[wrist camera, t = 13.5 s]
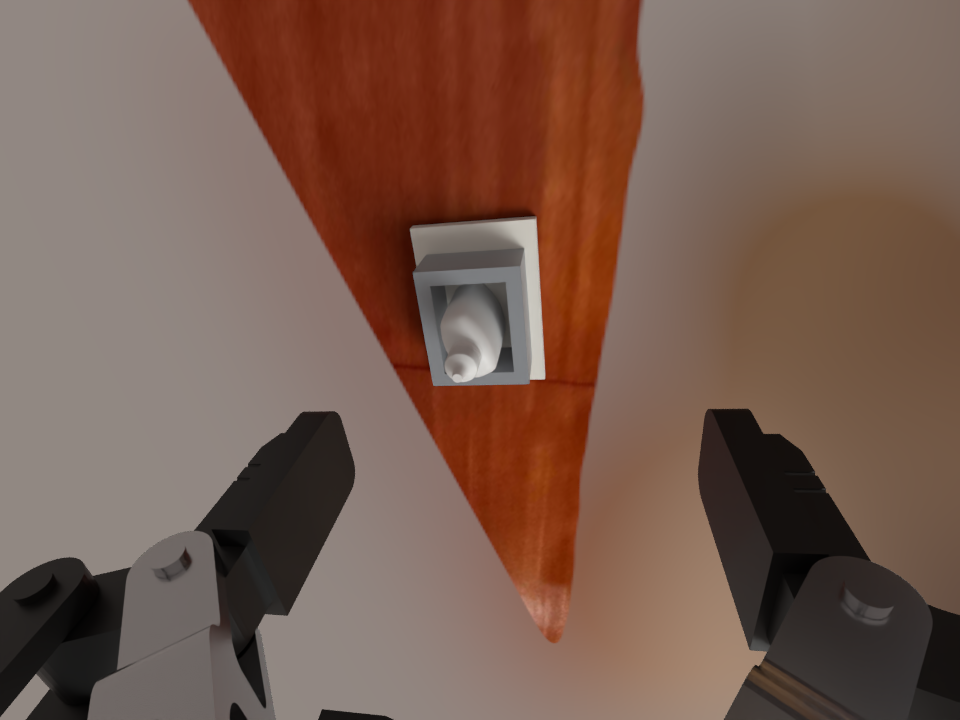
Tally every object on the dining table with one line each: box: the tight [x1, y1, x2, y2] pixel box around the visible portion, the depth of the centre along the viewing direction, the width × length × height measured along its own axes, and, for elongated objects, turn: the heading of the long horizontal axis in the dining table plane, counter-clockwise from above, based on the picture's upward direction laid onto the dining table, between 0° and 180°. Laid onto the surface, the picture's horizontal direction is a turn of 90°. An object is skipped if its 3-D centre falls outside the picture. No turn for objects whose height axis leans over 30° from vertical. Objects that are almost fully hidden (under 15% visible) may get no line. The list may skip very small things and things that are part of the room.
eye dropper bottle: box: [440, 283, 506, 383], centre depth 40 cm, size 4×6×12 cm
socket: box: [410, 216, 545, 386], centre depth 44 cm, size 15×10×6 cm
